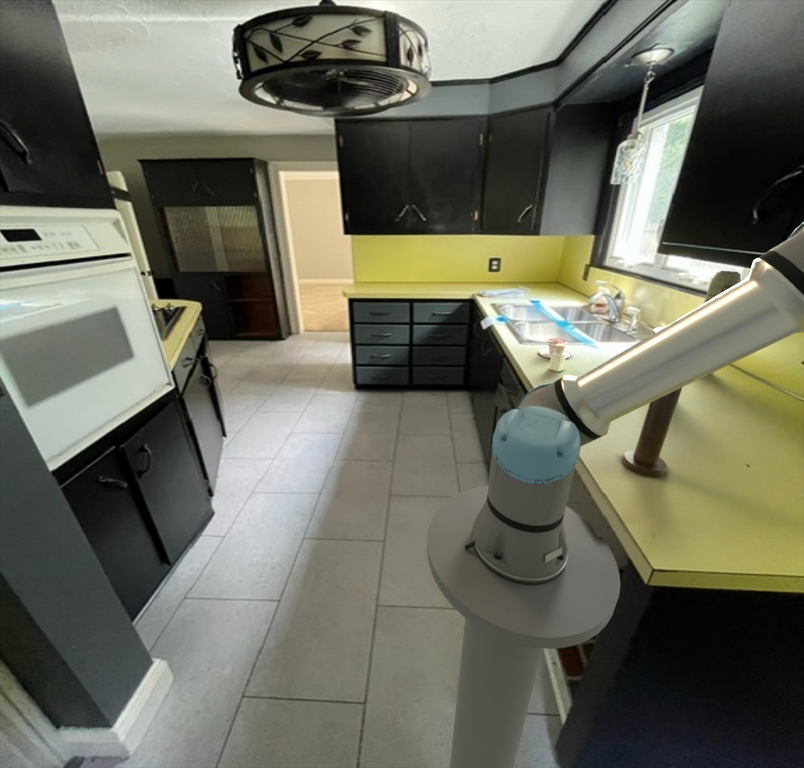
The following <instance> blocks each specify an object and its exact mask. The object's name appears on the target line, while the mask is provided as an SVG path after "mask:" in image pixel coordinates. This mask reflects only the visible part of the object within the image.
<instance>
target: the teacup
mask: <svg viewBox="0 0 804 768" xmlns="http://www.w3.org/2000/svg"><path fill="white" fill-rule="evenodd" d="M546 342H547V345H548V348H543V349H541V350H539V351H538V354H539V355H540V356H541V357H545V358H548V359H551V354H552V353H553V352H555V345H556V344H563V345H565V346H566V345H567V344H568V343H569V341H568V340H566V339H564V338H561V337H548V338H546ZM564 354H566V358H565V360H566V359H569V358H570V357H571V354H570V352H567V351H565V350H564Z"/></svg>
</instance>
